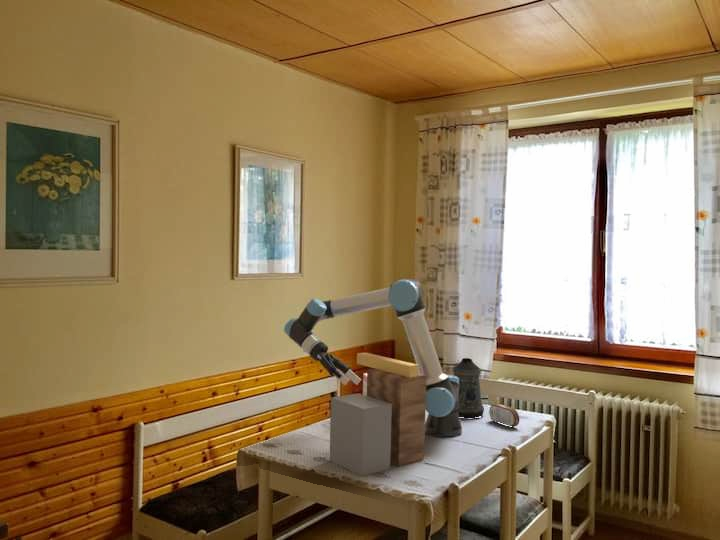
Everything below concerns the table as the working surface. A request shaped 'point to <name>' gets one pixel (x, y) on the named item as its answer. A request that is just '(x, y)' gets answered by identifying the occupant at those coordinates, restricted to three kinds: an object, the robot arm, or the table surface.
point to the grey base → (360, 433)
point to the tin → (504, 414)
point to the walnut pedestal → (402, 412)
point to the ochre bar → (388, 364)
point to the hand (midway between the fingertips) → (353, 382)
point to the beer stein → (469, 389)
